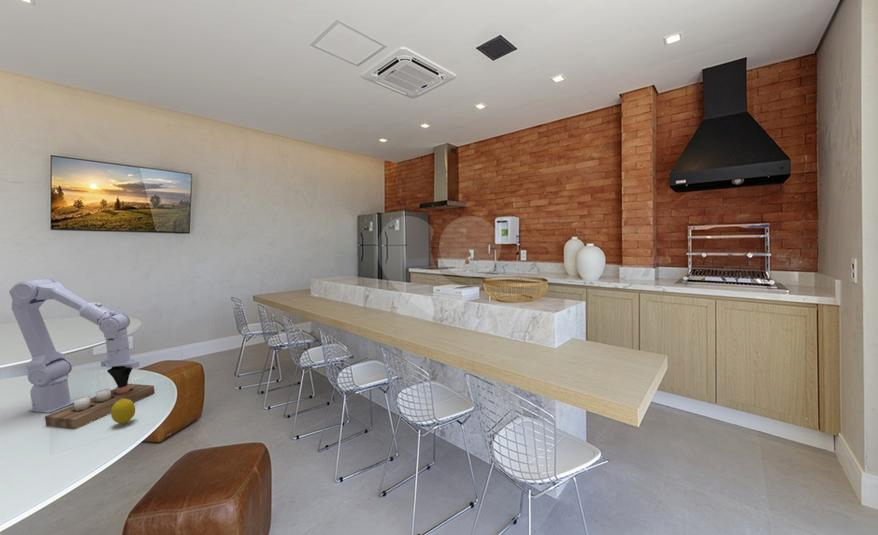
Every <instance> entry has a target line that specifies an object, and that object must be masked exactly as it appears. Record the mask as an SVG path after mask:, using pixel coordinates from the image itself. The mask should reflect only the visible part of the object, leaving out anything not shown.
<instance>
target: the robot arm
mask: <svg viewBox="0 0 878 535" xmlns="http://www.w3.org/2000/svg"><path fill="white" fill-rule="evenodd" d="M8 291H9V295H10V298H11V299H12V301H11V311H12V312H13V316H14V318H15V320H16V321H17V325H18V327H19V330H20V332H21V334H22V336H23V339H24V341H25V344H26V346H27V348H28V350H29V353H30V355H31V360H30V362H29V363H28V364H27V366H26V369H27V380H28V382H29V383H30V384H31V385H33V386H32V387H31V389H30V391H29V392H30V400H31V406H32V408H29V409H28V411H29V412H36V413H47V414H51V413H52V412H53V413H54V412H57V411H59V410H62V409H64V408H67V407H69V406H72V405H74V404H73V403H74V400H75V399H71V396H70V395H71V394H70V388H69V380H68V378H69V376H70V375H69V374H70V373H72V370H73V365H72V363H71V361H70V360H69V359H67V358H66V355H65V353H62V352H60V351H57V349H56V348H55V346H54V342H53V340H52V338H51V335H50V333H49V331H48V328H47V325H46V323H45V321H44V319H43V316H42V314H41V311H40V308H41V306H42V305H43V304H44V303H45V302H46V301H48V300H49V301H50V300H55V301H56V302H59V303H61V304H64V305H65V306H67V307H69V308H72V309H73V310H76V311H78V312H79V316H80V317H82V319H86V320H87V321H88V322H91V323H92V324H94V325H96V326H98V329H99V331H100V332H102V334H103V335H104V338H105V345H106V352H107V354H106V355H107V359H104V360H100V367H102V368H103V367H104V368H109V369H107V373H108V374H109V375H110V376H111V377H112V378H113V380H114V382H115V384H116V387H118V388H122V387H124V386H127V384H129V383H128V382H129V378H130V374H131V372H132V371H133V369H137V368H139V367H140V361H139V360H135V359H133V358H131V351H130V344H129V335H128V327H129V326H130V324H131V319H130V317H129V316H128V315H127V314H125V313H123V312H120V313H119V312H118V313H117V312H116V311H115V310H112V309H111V310H110V309H109V308H107V307H105V306H103V303H101V302H95V301H94V302H93V301H92V302H88V301H87V300H85V299H83V298H81V297H80V296H78V295H77V294H75V293H73V292H72V291H70V290H69V289H67V288H66V287H64V285H63V284H62V283H61V282H58V281H56V280H55V279H53V278H48V277H46V278H40V279H35V280H27V281H26V280H25V281H24V280H23V281H22V280H21V281H18V282H16V283H15V284H14V285H13V286H12V287H11V289H10V290H8Z"/></svg>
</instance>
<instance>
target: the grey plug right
mask: <svg viewBox="0 0 878 535" xmlns="http://www.w3.org/2000/svg"><path fill="white" fill-rule="evenodd" d="M90 398H91V397H90V396H83V397H79V398H76V399H73V400H74V404H73V405H74V408H75V411H81V410H85V409H88V408H90V407H91V404H90Z"/></svg>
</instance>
